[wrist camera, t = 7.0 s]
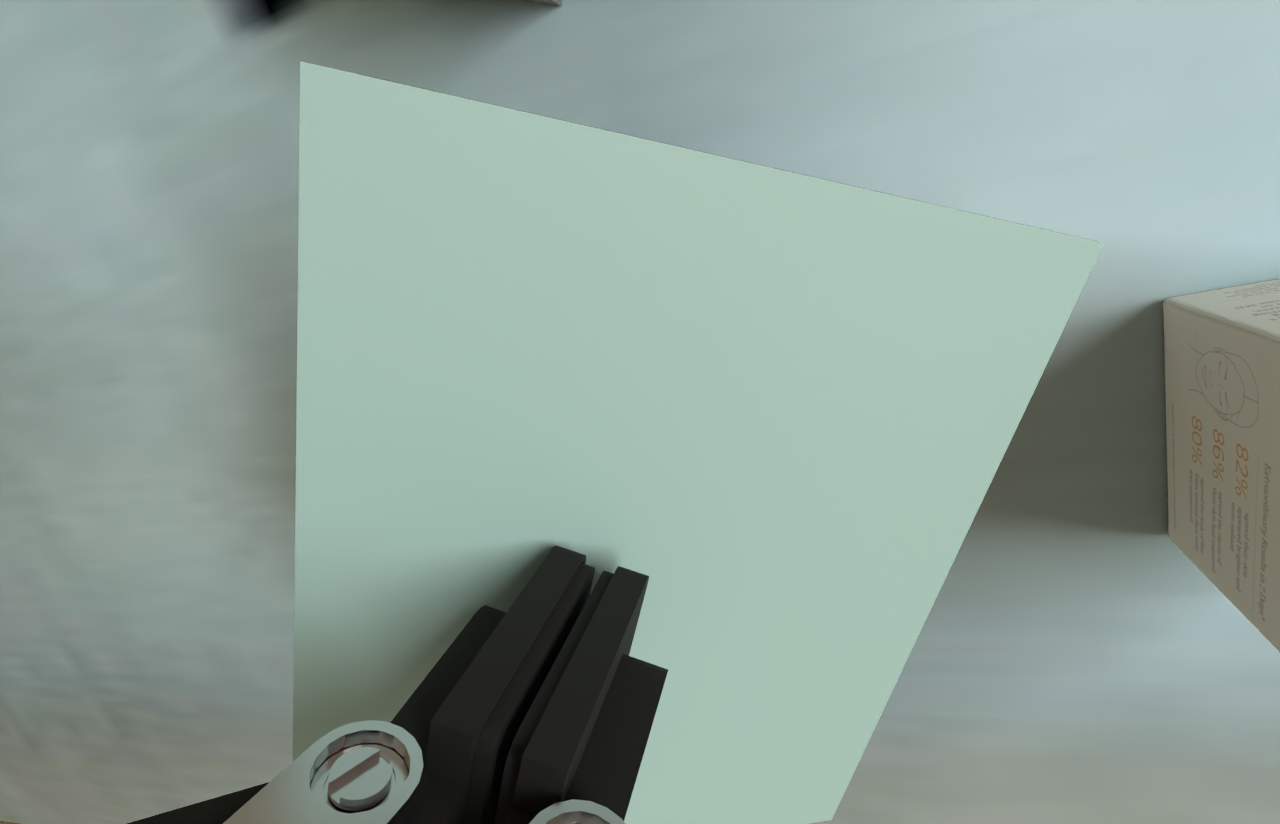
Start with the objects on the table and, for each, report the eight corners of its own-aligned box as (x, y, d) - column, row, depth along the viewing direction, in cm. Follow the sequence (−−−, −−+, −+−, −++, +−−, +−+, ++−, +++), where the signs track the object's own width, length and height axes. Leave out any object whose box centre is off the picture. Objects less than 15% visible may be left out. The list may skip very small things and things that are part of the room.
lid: (310, 63, 8) (300, 61, 7) (1065, 233, 12) (1104, 243, 11) (298, 868, 13) (291, 911, 13) (815, 790, 18) (831, 819, 17)
